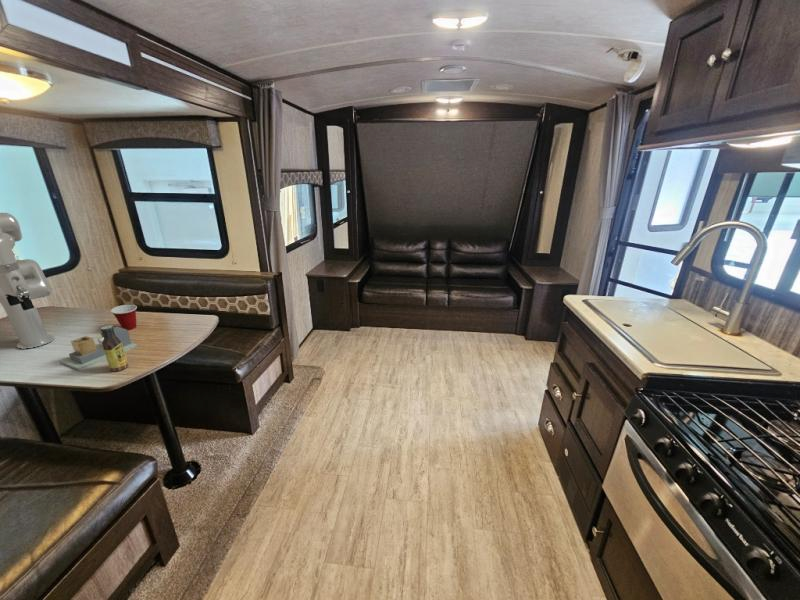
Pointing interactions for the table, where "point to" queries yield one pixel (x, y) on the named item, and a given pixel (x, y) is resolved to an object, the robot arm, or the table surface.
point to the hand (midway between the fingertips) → (22, 306)
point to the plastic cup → (126, 316)
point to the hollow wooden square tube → (84, 345)
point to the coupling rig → (98, 352)
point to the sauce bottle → (113, 349)
